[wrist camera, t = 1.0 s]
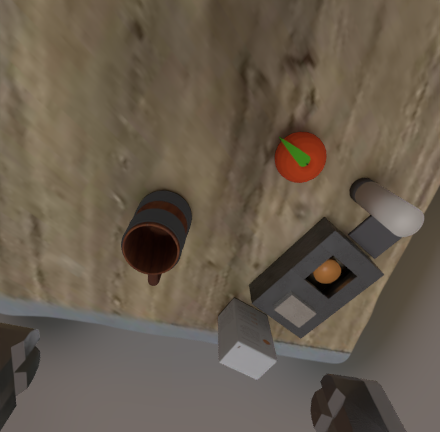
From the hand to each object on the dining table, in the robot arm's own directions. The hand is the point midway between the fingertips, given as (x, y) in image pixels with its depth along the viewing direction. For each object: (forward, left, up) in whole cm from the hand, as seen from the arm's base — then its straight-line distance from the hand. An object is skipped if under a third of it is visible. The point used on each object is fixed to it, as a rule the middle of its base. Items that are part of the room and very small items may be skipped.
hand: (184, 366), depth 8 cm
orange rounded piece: (+3, +28, -36) cm, 46 cm away
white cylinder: (-10, +23, -38) cm, 46 cm away
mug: (+15, +3, -38) cm, 41 cm away
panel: (+6, +28, -38) cm, 48 cm away
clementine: (-7, +10, -38) cm, 40 cm away
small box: (+21, +26, -38) cm, 51 cm away
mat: (-7, +31, -38) cm, 50 cm away
